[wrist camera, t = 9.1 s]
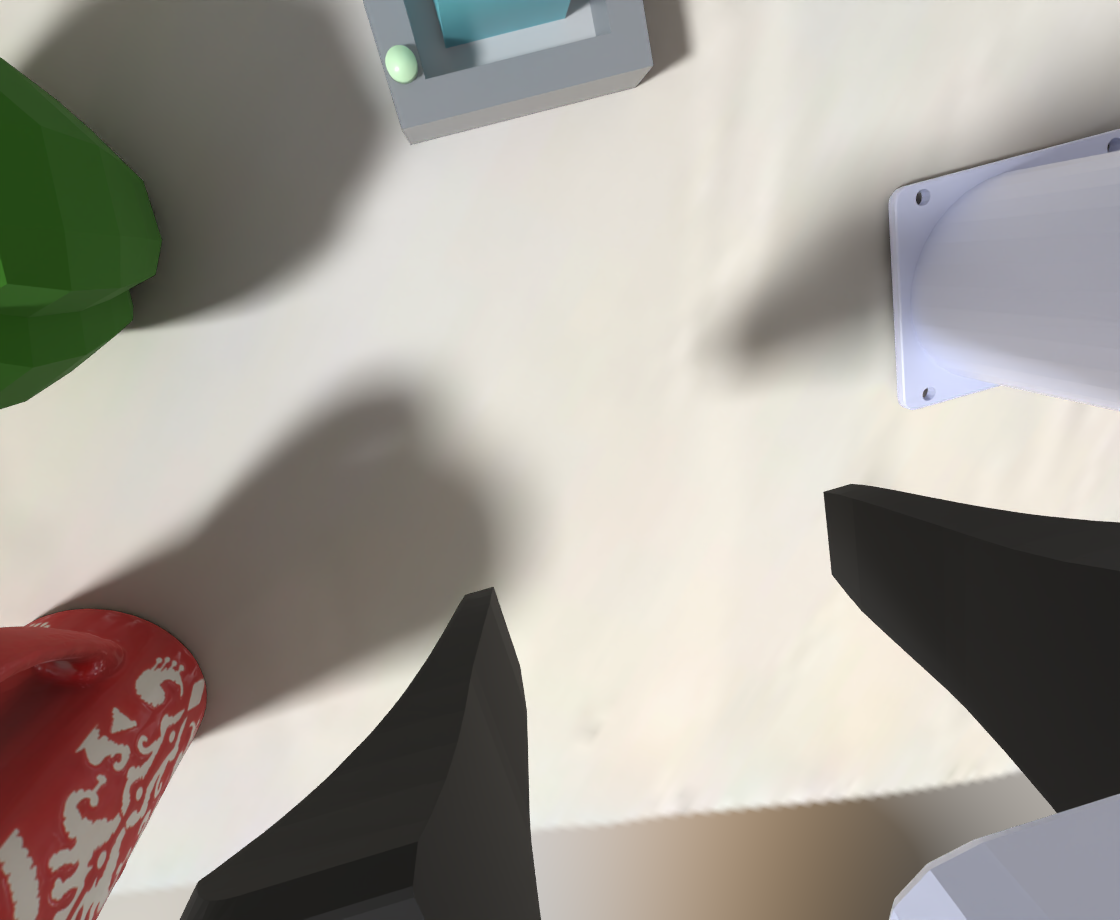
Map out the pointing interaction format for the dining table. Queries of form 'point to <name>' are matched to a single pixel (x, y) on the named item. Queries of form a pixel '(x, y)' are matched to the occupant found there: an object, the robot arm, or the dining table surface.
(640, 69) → the port
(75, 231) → the bell pepper
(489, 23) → the plug
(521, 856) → the robot arm
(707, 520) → the dining table surface
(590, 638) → the dining table surface
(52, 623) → the mug
